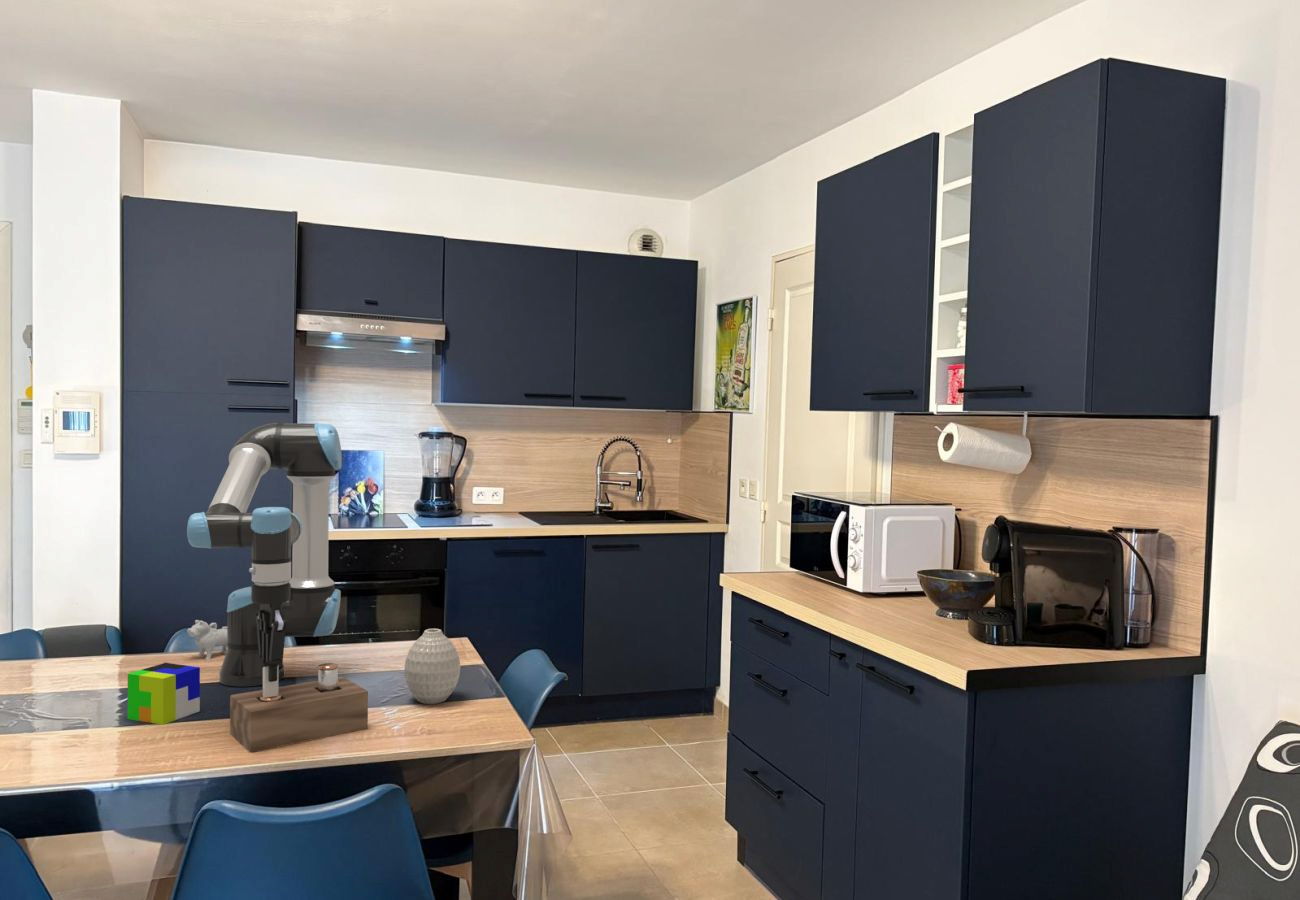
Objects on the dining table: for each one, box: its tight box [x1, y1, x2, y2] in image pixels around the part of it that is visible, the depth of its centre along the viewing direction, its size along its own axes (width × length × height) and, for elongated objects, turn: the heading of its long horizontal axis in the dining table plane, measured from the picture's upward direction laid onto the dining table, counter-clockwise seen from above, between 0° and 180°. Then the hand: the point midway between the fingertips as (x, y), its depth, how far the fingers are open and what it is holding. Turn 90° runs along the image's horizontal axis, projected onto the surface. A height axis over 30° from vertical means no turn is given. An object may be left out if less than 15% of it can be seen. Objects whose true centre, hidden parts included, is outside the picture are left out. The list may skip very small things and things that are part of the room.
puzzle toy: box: [127, 662, 201, 726], centre depth 204 cm, size 10×10×10 cm
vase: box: [403, 628, 461, 705], centre depth 218 cm, size 13×13×17 cm
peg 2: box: [317, 662, 339, 693], centre depth 199 cm, size 4×4×8 cm
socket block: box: [229, 676, 369, 753], centre depth 196 cm, size 14×24×8 cm, turn 130°
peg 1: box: [260, 694, 281, 703], centre depth 192 cm, size 4×4×8 cm
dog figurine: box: [186, 619, 227, 661], centre depth 254 cm, size 5×13×11 cm, turn 145°
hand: (270, 695), depth 192 cm, fingers closed
